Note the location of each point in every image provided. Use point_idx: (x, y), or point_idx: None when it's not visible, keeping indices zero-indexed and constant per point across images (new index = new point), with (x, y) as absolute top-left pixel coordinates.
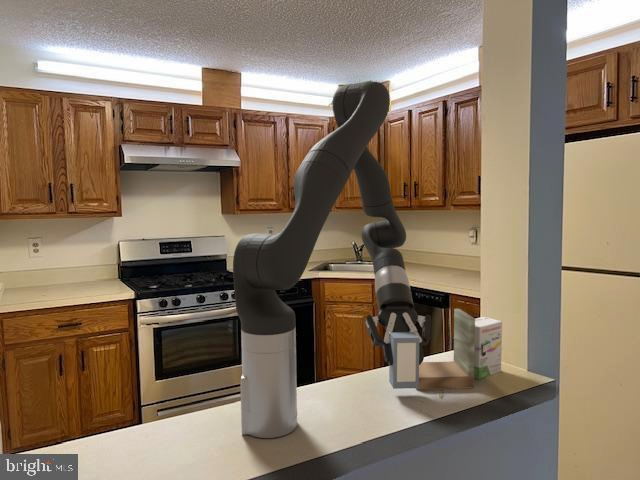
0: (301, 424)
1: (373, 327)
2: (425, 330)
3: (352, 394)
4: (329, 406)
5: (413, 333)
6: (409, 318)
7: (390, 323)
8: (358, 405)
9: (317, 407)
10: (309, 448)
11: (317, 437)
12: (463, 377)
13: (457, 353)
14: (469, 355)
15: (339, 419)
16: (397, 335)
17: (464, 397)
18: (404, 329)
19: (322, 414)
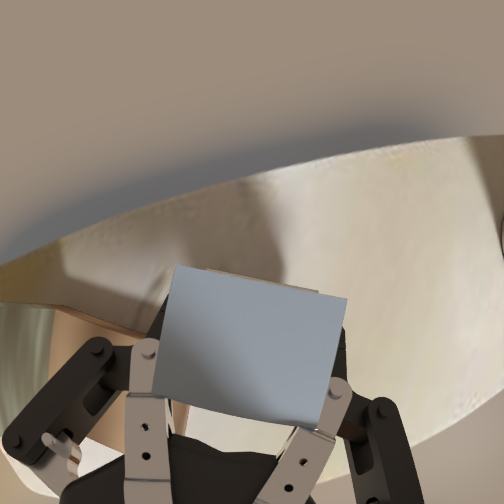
0: (495, 236)
1: (401, 472)
2: (80, 383)
3: (386, 362)
4: (449, 303)
5: (168, 364)
6: (133, 481)
7: (296, 486)
8: (393, 293)
9: (469, 303)
10: (482, 157)
11: (475, 182)
12: (67, 312)
13: (27, 396)
14: (15, 306)
15: (442, 234)
16: (297, 351)
17: (108, 262)
18: (199, 441)
19: (466, 267)
